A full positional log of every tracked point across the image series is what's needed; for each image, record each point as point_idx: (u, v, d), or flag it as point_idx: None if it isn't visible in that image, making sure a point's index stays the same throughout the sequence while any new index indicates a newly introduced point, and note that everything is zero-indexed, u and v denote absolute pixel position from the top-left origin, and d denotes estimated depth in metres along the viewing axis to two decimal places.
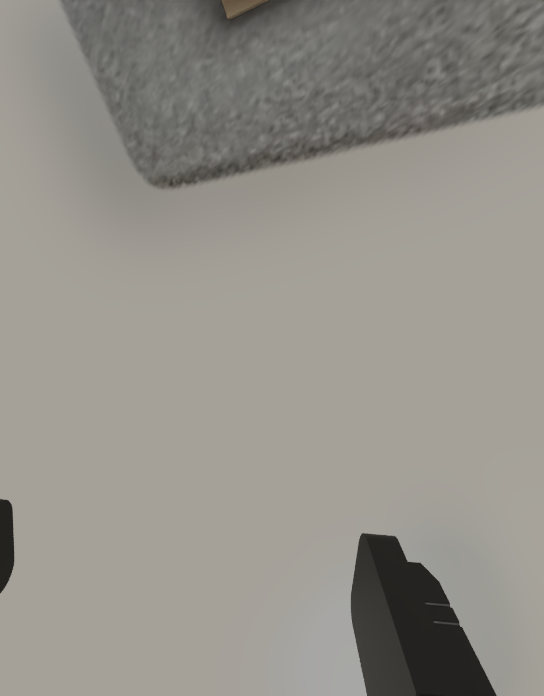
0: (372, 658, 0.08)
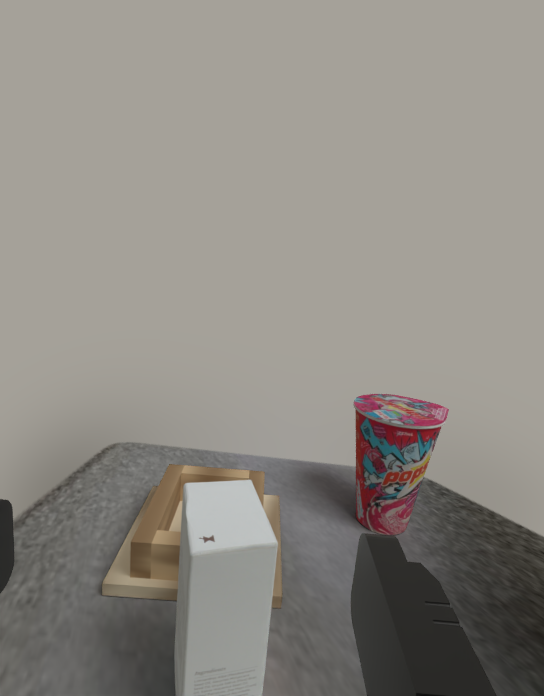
0: (372, 658, 0.08)
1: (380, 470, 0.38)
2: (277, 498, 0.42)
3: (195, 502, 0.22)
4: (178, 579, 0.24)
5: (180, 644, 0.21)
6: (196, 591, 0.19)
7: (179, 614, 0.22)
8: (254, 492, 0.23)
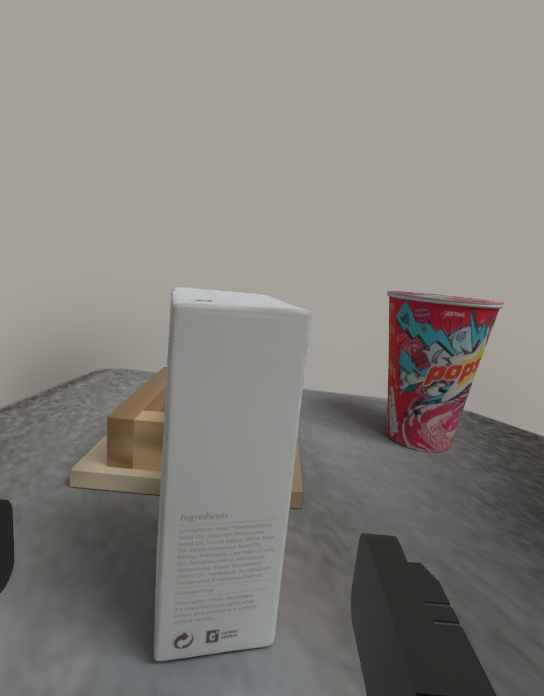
0: (372, 658, 0.08)
1: (422, 366, 0.30)
2: None
3: (186, 291, 0.15)
4: None
5: (161, 493, 0.14)
6: (182, 373, 0.12)
7: (162, 462, 0.16)
8: None
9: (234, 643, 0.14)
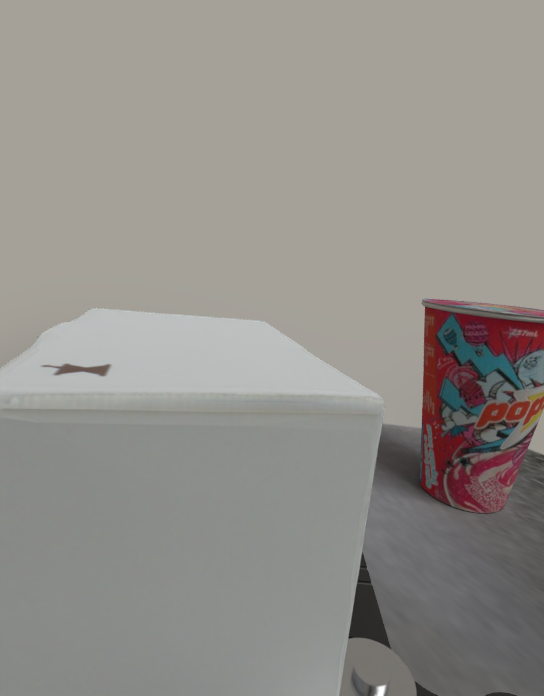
0: None
1: (474, 401, 0.23)
2: None
3: (94, 322, 0.07)
4: None
5: None
6: (0, 603, 0.04)
7: None
8: (275, 330, 0.08)
9: None
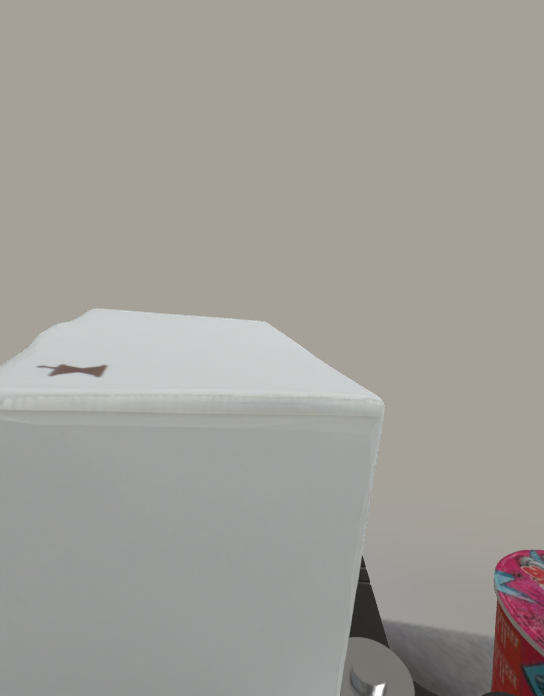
0: None
1: None
2: None
3: (94, 322, 0.07)
4: None
5: None
6: None
7: None
8: (276, 330, 0.08)
9: None
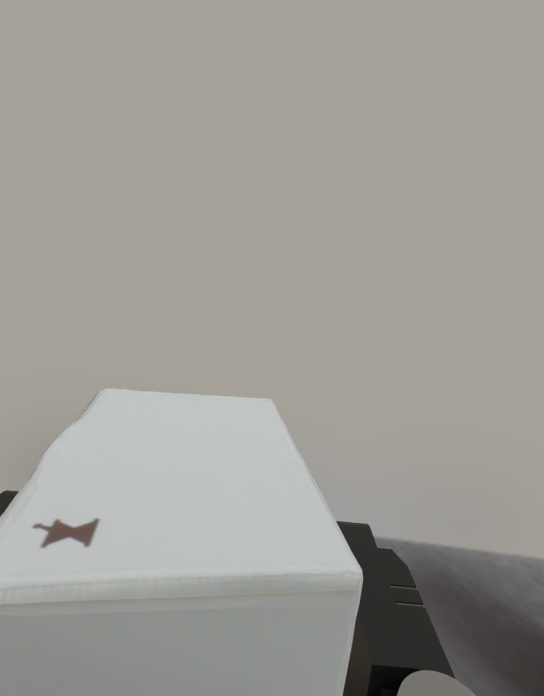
0: None
1: None
2: None
3: (99, 423, 0.07)
4: None
5: None
6: None
7: None
8: (278, 420, 0.09)
9: None
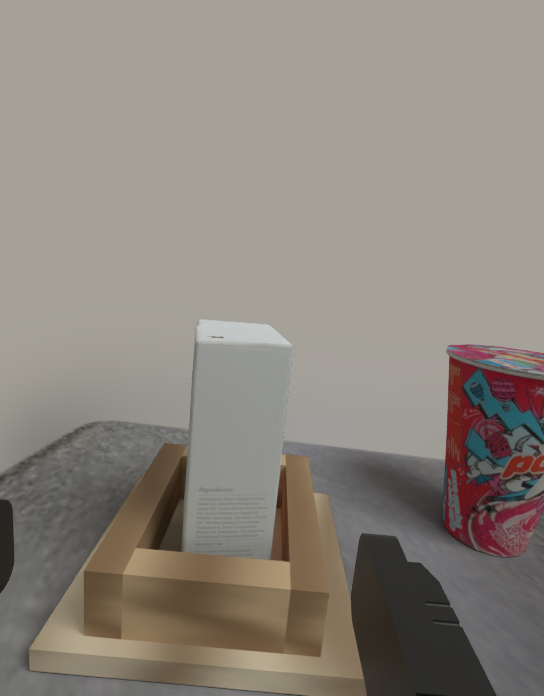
0: (372, 658, 0.08)
1: (500, 453, 0.23)
2: (325, 497, 0.28)
3: (207, 325, 0.20)
4: None
5: None
6: (201, 388, 0.17)
7: None
8: (272, 328, 0.21)
9: None
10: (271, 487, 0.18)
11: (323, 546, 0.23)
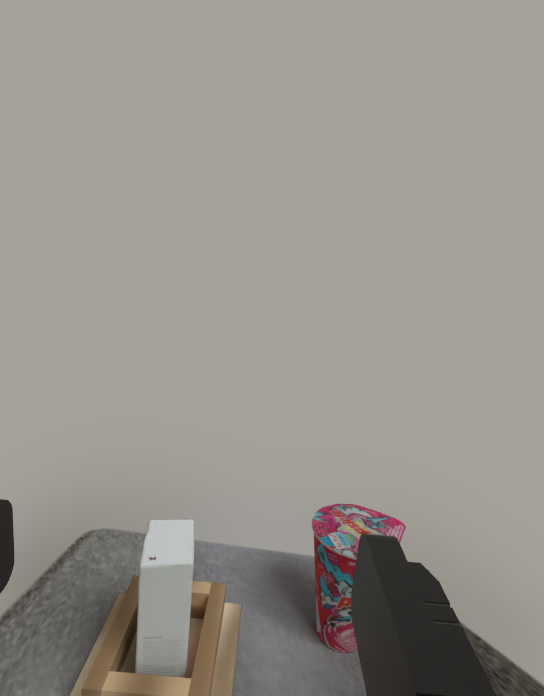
0: (372, 658, 0.08)
1: (334, 594, 0.39)
2: (239, 608, 0.43)
3: (152, 534, 0.35)
4: None
5: None
6: (143, 588, 0.32)
7: None
8: (192, 529, 0.37)
9: None
10: (184, 634, 0.34)
11: (226, 651, 0.38)
